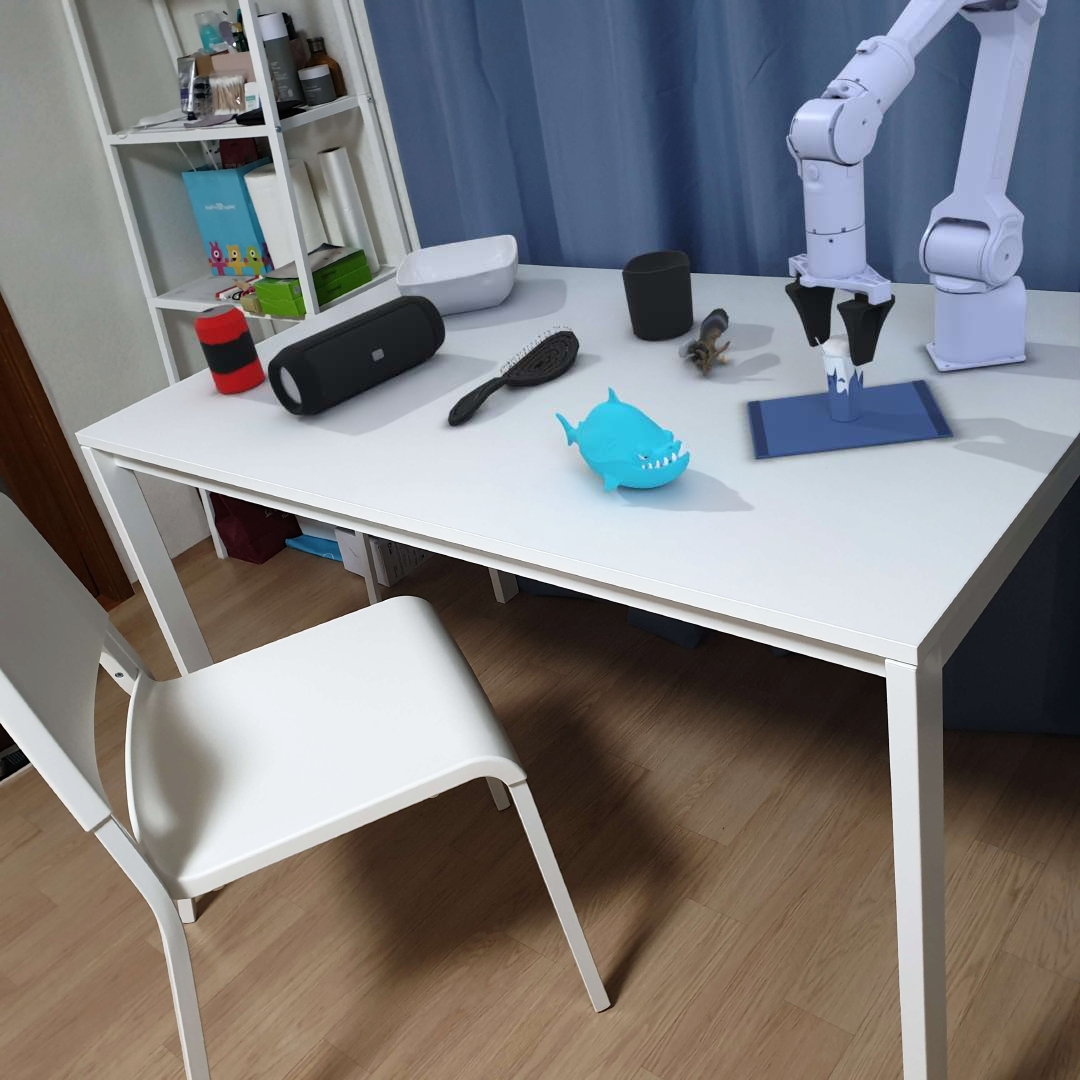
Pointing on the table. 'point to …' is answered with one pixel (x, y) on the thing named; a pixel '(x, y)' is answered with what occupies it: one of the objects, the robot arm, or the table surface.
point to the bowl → (461, 274)
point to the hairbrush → (523, 372)
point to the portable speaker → (356, 355)
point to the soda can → (229, 349)
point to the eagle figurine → (708, 340)
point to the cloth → (813, 429)
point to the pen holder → (659, 294)
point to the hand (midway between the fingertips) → (840, 353)
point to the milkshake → (842, 379)
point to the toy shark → (627, 446)
